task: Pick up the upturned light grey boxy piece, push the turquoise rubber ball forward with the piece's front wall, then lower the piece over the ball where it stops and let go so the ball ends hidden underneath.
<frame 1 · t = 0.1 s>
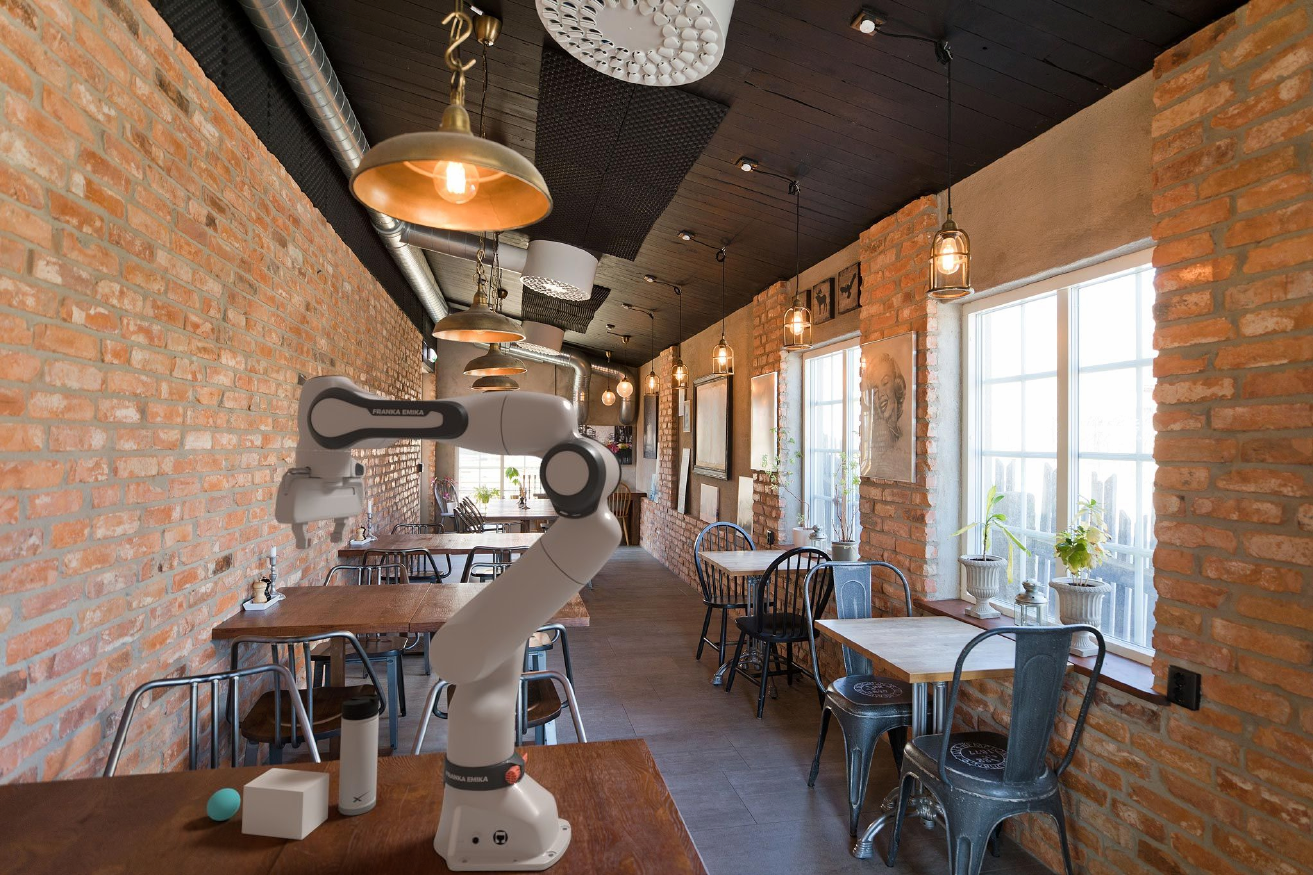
hand: (320, 545, 122), 48 cm above the table, tool pointing down, fingers open, 8 cm apart
ball: (223, 804, 121), on the table
light grey boxy piece: (285, 825, 119), on the table
travel mug: (358, 808, 126), on the table
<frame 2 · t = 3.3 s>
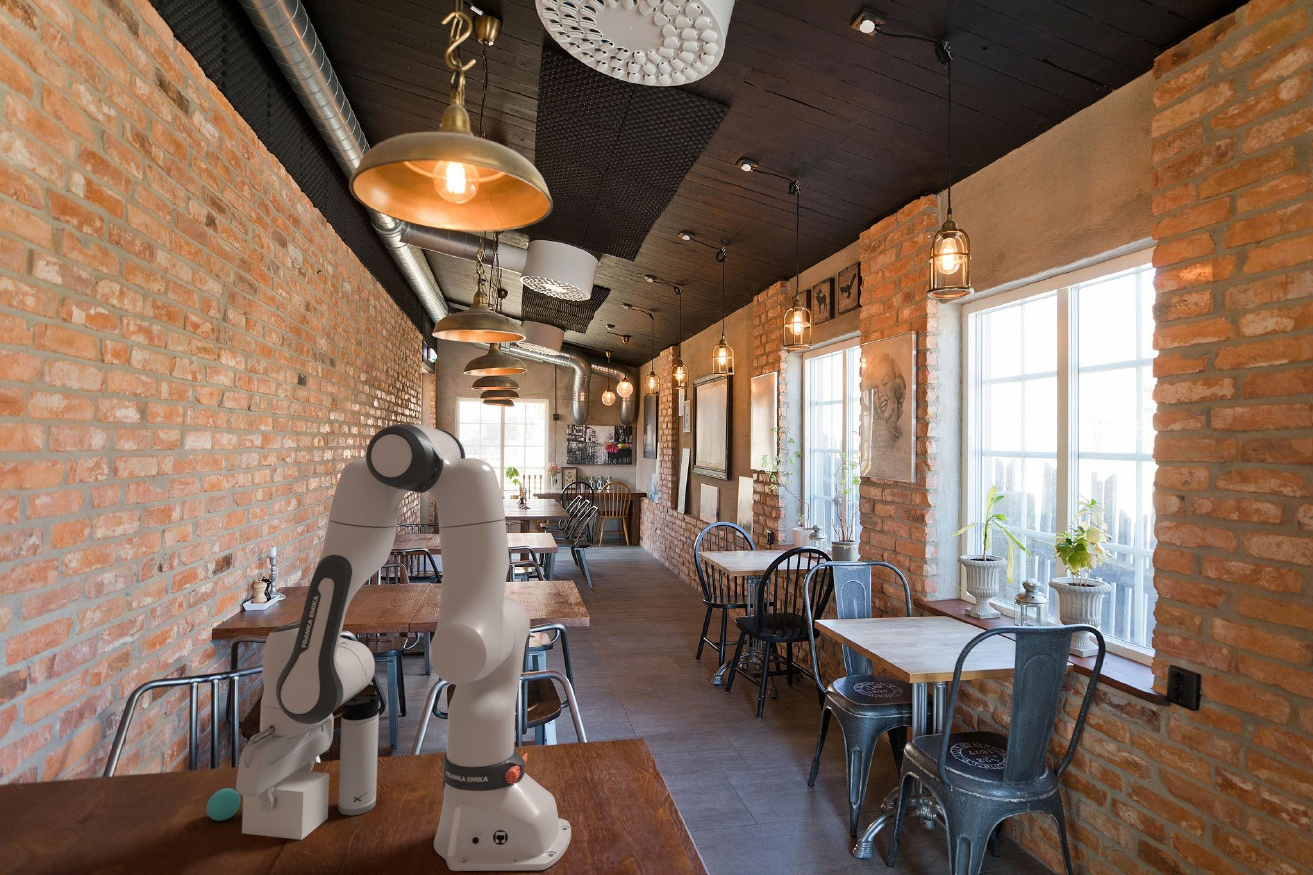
hand: (286, 797, 119), 5 cm above the table, tool pointing down, fingers closed on light grey boxy piece, 7 cm apart
light grey boxy piece: (285, 825, 119), on the table, touching gripper
everything else where it was.
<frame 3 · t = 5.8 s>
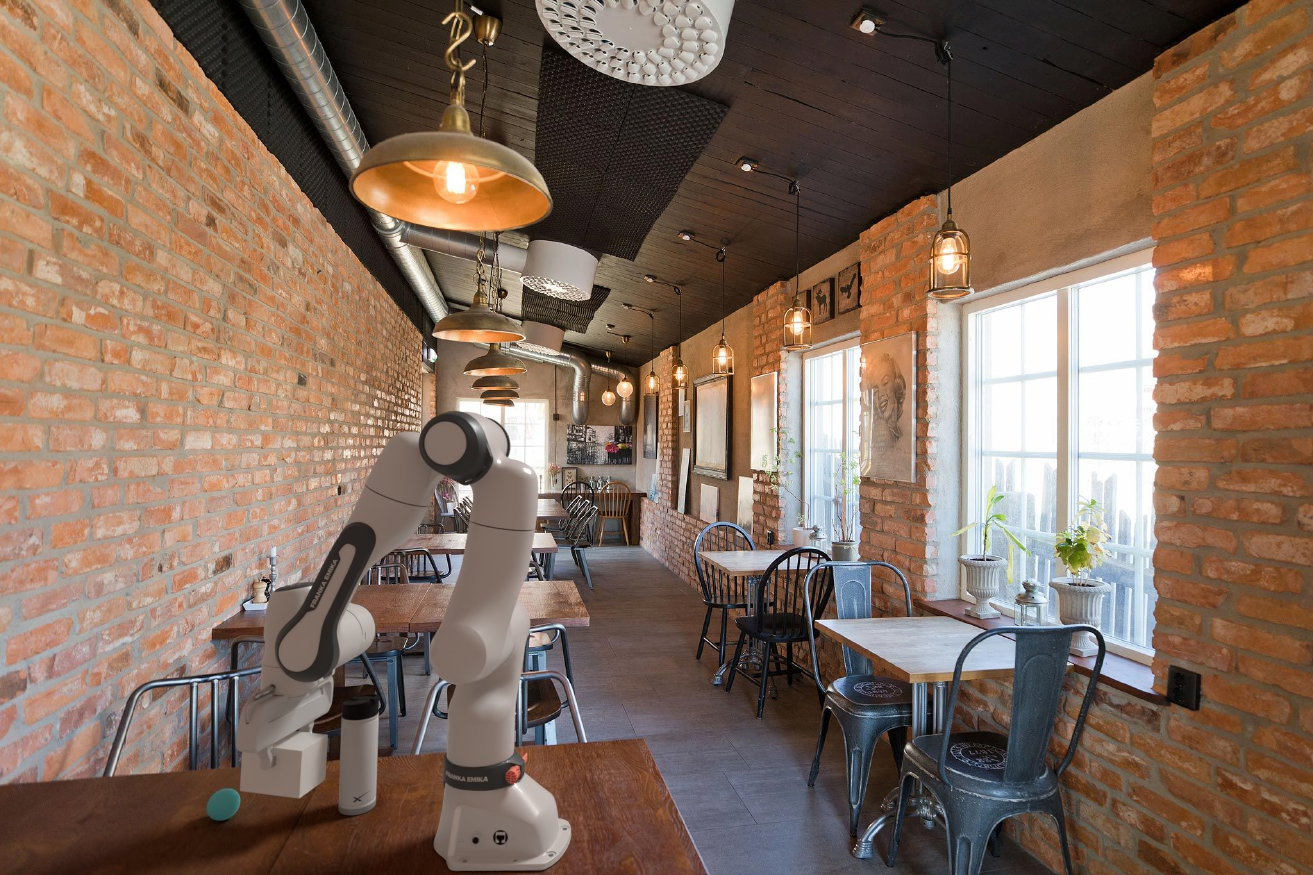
hand: (284, 757, 120), 11 cm above the table, tool pointing down, fingers closed on light grey boxy piece, 7 cm apart
light grey boxy piece: (283, 785, 119), point 7 cm above the table, touching gripper
everything else where it was.
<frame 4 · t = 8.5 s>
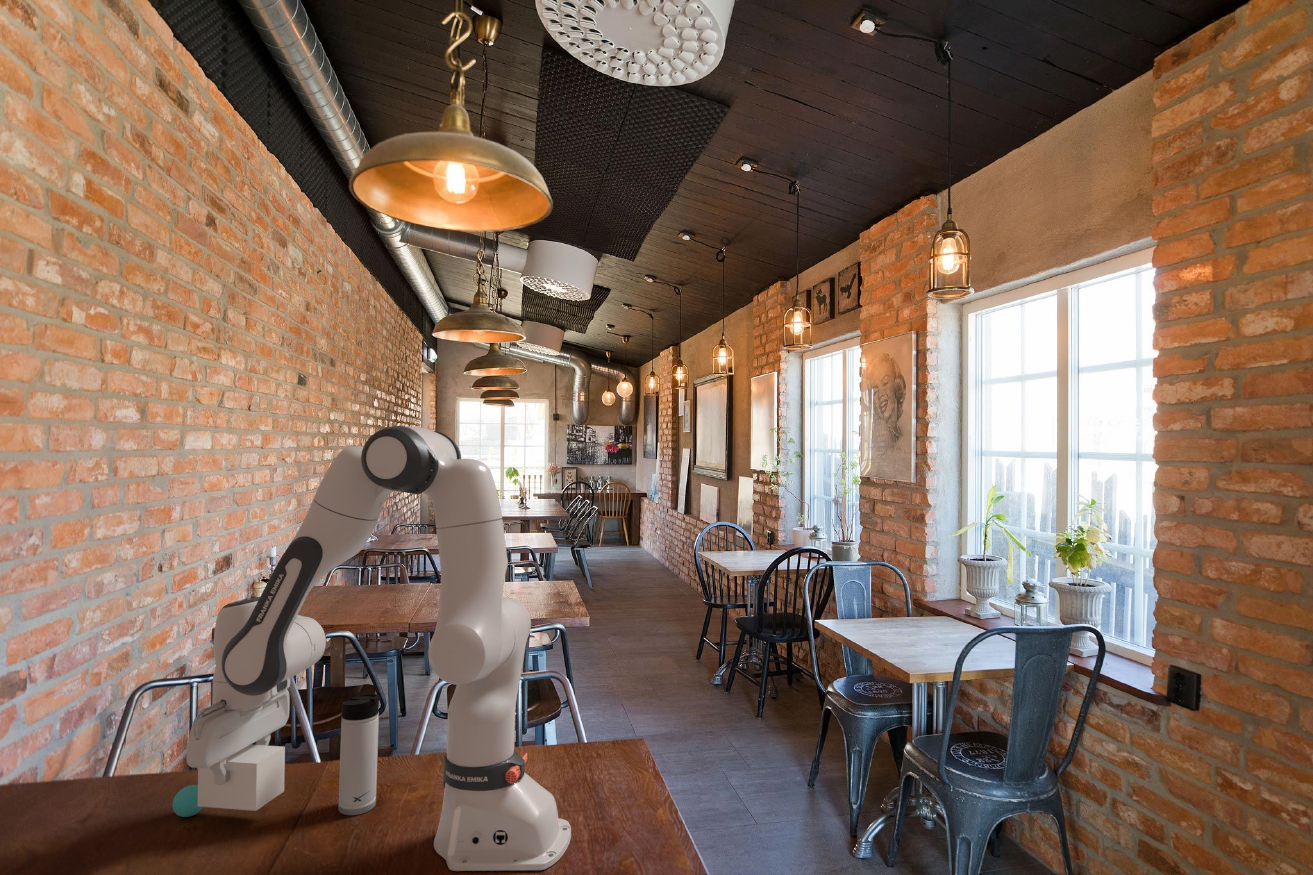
hand: (240, 771, 121), 8 cm above the table, tool pointing down, fingers closed on light grey boxy piece, 7 cm apart
ball: (189, 800, 122), on the table
light grey boxy piece: (241, 798, 120), point 4 cm above the table, touching gripper
everything else where it was.
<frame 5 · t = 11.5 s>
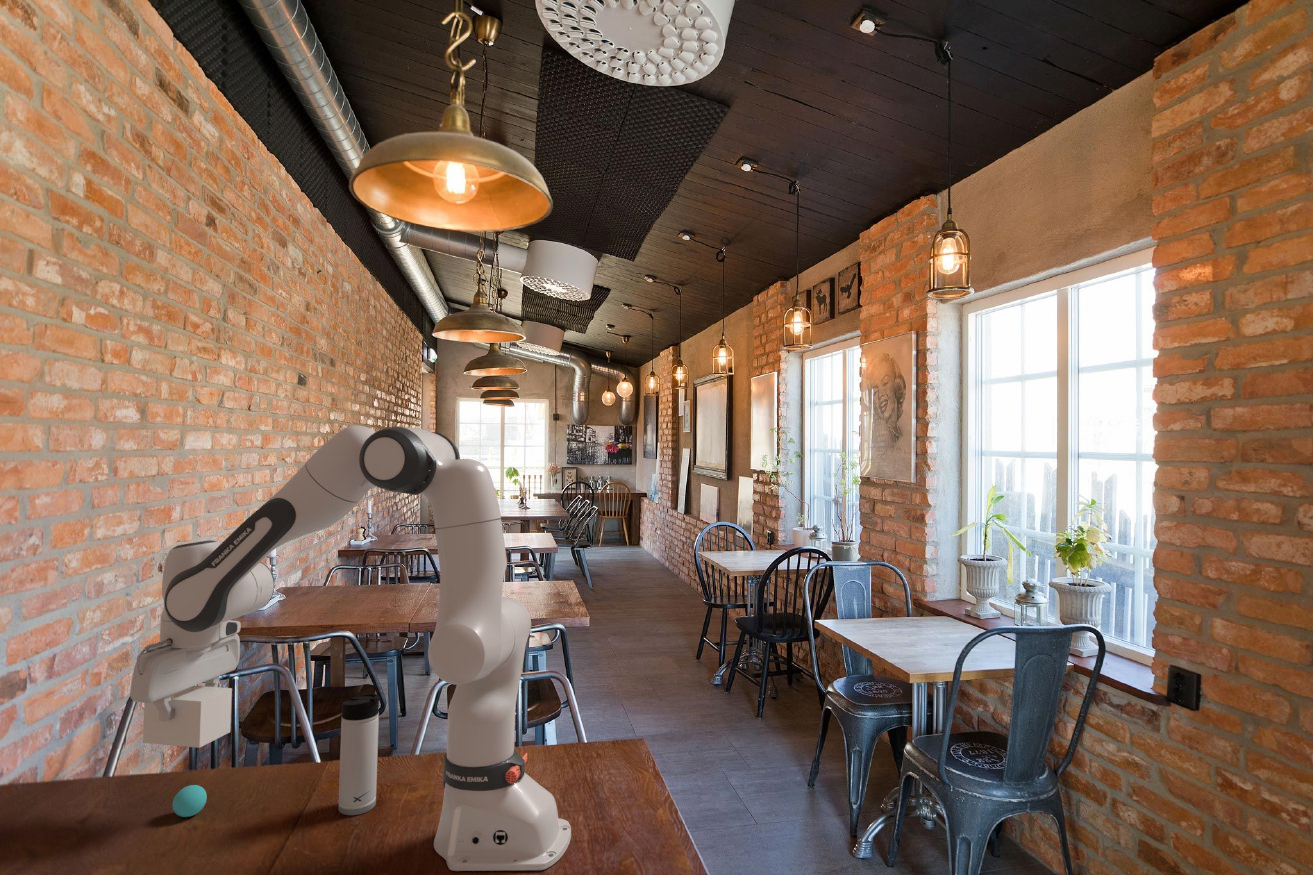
hand: (186, 711, 123), 18 cm above the table, tool pointing down, fingers closed on light grey boxy piece, 7 cm apart
light grey boxy piece: (187, 737, 122), point 13 cm above the table, touching gripper
everything else where it was.
when the fingers open (5 cm above the table, at t = 14.0 s): light grey boxy piece stays where it is, on the table.
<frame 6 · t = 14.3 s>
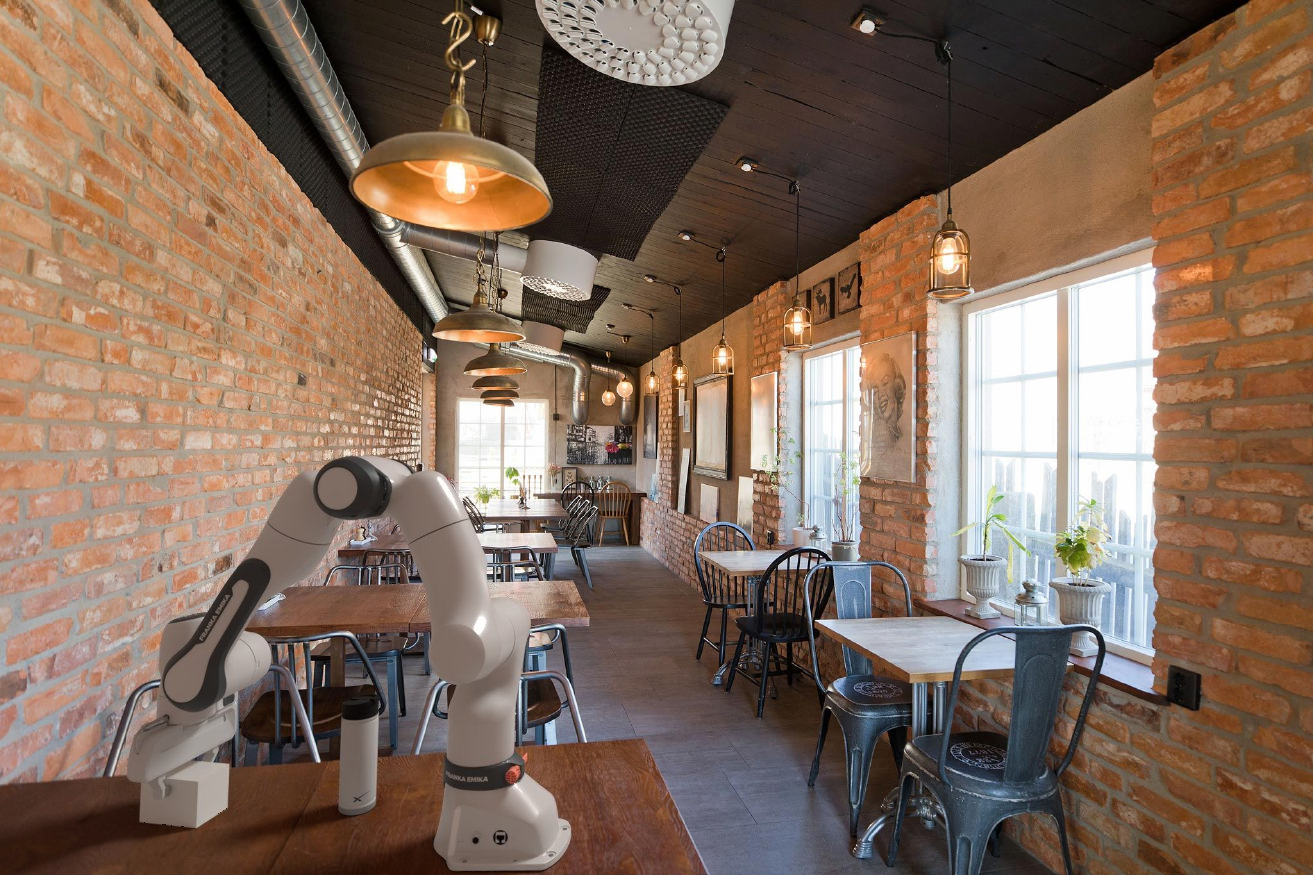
hand: (183, 785, 122), 5 cm above the table, tool pointing down, fingers open, 8 cm apart
light grey boxy piece: (184, 814, 122), on the table
everything else where it was.
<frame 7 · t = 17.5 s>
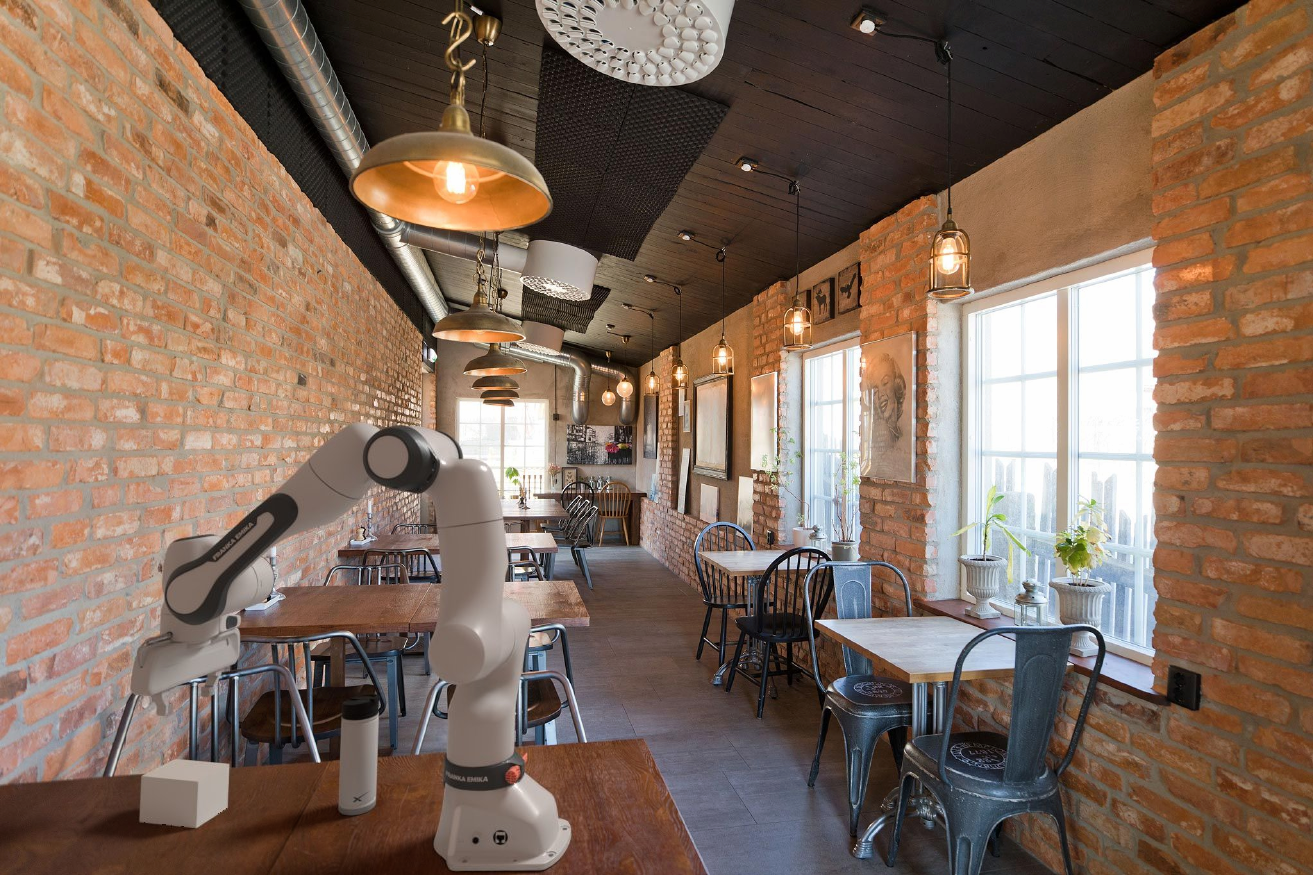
hand: (187, 704, 123), 19 cm above the table, tool pointing down, fingers open, 8 cm apart
nothing on the table moved.
at the end: ball 0.9 cm from the light grey boxy piece (horizontally); light grey boxy piece on the table; ball moved 6.7 cm from its start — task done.
